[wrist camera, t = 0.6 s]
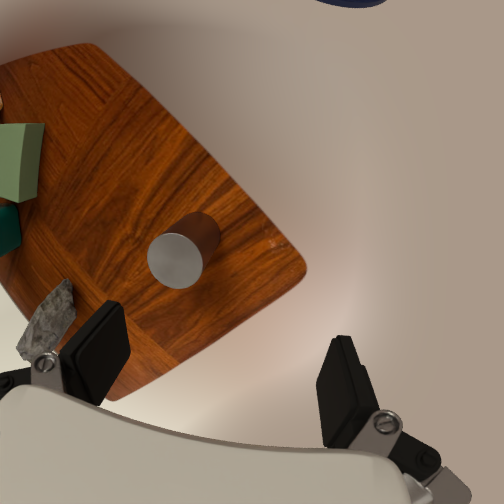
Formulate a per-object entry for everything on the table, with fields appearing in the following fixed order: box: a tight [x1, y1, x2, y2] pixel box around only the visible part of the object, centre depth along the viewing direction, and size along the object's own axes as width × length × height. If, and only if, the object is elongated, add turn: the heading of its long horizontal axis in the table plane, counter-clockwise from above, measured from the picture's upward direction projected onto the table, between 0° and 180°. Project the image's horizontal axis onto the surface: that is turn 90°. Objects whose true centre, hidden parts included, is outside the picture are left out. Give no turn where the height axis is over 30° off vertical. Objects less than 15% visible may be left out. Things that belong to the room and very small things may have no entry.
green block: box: [0, 123, 45, 203], centre depth 28 cm, size 12×10×4 cm
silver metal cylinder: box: [147, 212, 220, 289], centre depth 29 cm, size 6×6×9 cm
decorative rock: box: [16, 279, 77, 363], centre depth 33 cm, size 16×7×15 cm, turn 128°
